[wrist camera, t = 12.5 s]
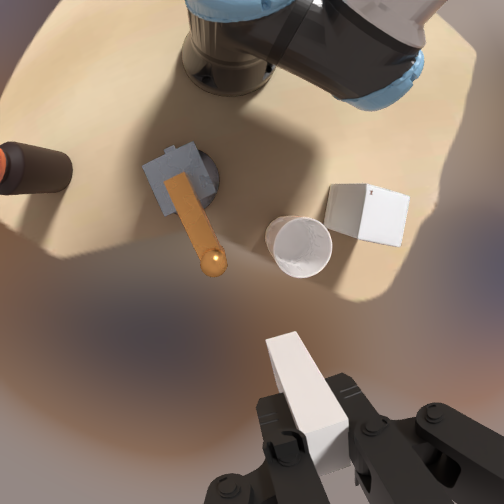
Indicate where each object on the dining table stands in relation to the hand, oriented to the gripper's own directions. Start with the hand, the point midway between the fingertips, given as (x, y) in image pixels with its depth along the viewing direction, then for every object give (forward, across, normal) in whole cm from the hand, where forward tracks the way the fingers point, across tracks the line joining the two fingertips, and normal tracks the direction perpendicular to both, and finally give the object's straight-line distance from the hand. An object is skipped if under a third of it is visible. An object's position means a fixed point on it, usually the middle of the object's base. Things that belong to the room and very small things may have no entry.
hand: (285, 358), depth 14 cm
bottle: (+35, -26, +19) cm, 47 cm away
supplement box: (+35, +19, +1) cm, 39 cm away
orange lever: (+31, -4, +8) cm, 33 cm away
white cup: (+35, +8, -1) cm, 36 cm away
